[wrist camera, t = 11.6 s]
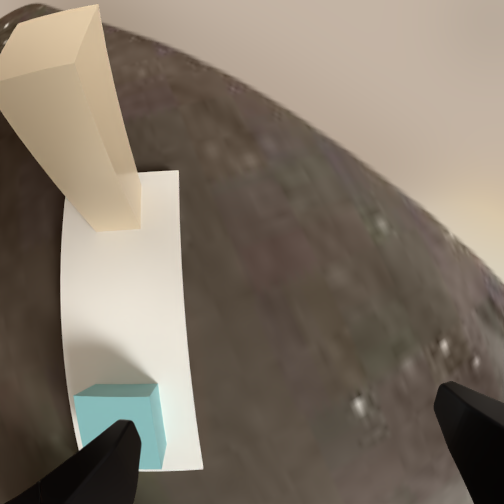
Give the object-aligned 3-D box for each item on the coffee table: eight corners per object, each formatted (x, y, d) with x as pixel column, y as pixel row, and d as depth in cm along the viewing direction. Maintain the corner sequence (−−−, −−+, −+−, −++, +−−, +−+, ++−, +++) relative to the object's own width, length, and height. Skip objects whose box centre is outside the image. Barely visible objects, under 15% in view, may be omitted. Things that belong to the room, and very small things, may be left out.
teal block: (166, 443, 17) (161, 469, 13) (105, 443, 16) (87, 466, 12) (157, 383, 17) (149, 396, 14) (95, 384, 17) (73, 395, 13)
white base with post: (202, 463, 17) (233, 638, 3) (87, 462, 16) (-17, 592, 2) (178, 177, 22) (178, -17, 7) (71, 185, 20) (-24, 27, 6)
